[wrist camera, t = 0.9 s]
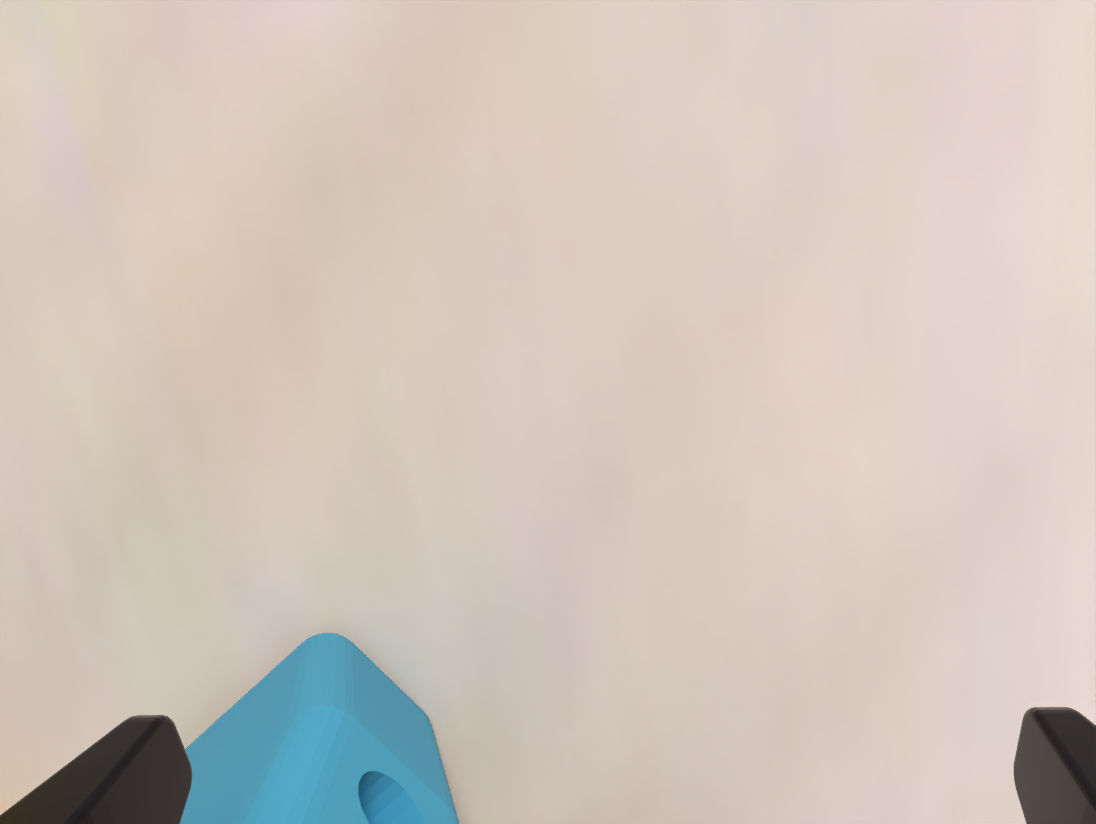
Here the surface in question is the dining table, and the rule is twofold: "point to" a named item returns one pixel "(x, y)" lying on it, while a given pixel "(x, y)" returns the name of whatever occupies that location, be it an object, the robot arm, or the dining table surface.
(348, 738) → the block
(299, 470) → the dining table surface
